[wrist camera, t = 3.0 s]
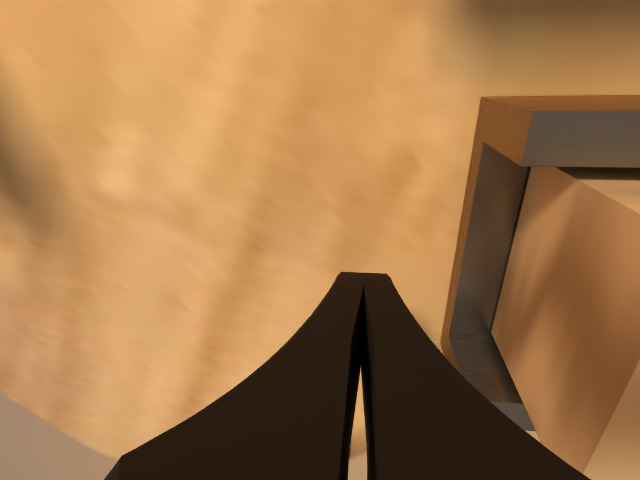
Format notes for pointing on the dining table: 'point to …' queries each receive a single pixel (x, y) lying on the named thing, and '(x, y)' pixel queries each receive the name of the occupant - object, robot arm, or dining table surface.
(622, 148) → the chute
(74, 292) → the dining table surface
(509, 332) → the oak block
